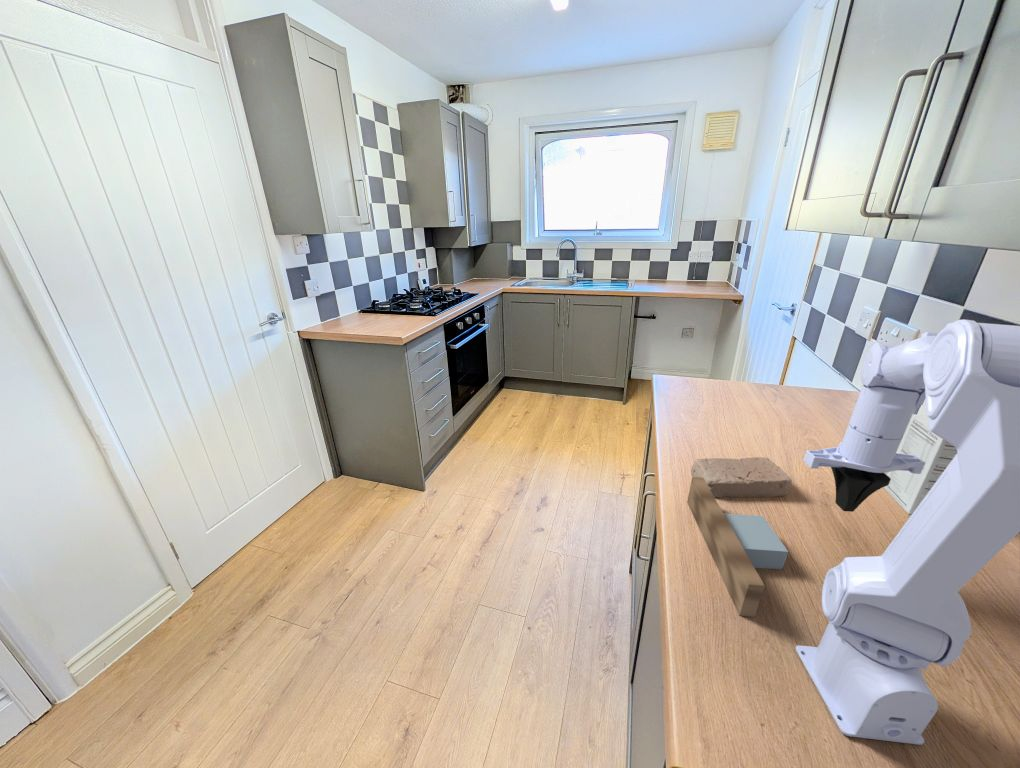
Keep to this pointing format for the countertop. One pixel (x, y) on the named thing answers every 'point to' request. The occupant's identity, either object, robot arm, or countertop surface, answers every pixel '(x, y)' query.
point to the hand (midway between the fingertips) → (844, 507)
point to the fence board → (725, 549)
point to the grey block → (758, 540)
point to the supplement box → (928, 449)
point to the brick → (742, 477)
